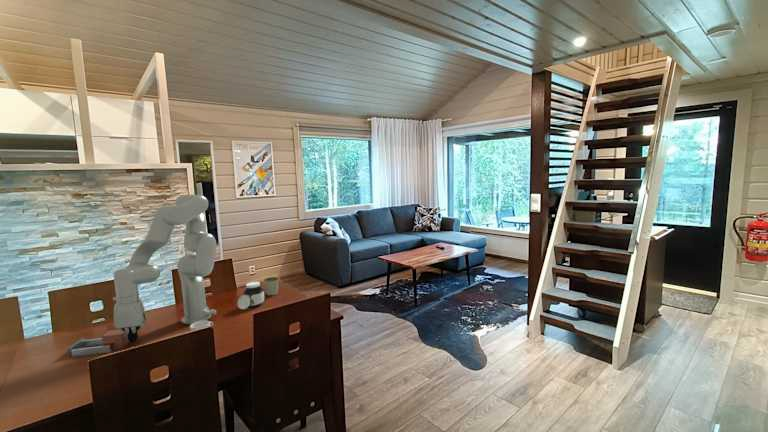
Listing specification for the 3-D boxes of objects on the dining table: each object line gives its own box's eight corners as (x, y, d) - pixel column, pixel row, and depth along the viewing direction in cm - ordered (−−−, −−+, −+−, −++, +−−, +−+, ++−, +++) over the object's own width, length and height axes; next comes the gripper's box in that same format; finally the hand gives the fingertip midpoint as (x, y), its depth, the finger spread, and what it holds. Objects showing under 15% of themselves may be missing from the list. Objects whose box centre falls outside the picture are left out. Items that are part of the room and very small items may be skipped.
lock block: (129, 342, 150) (127, 328, 150) (123, 348, 146) (121, 334, 145) (110, 344, 149) (108, 331, 148) (103, 350, 144) (101, 336, 143)
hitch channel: (121, 341, 151) (120, 333, 151) (109, 352, 142) (108, 343, 142) (83, 346, 148) (81, 338, 148) (68, 357, 139) (67, 348, 139)
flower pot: (260, 296, 202) (259, 281, 201) (268, 290, 212) (267, 276, 210) (275, 296, 201) (274, 282, 200) (283, 291, 210) (282, 277, 209)
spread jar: (266, 301, 194) (264, 280, 192) (259, 309, 182) (258, 287, 181) (243, 302, 193) (242, 281, 192) (236, 310, 182) (234, 288, 180)
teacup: (198, 341, 149) (197, 329, 148) (187, 338, 152) (185, 326, 152) (219, 331, 158) (218, 320, 157) (207, 329, 161) (206, 317, 161)
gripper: (102, 304, 141) (108, 348, 143) (144, 299, 144) (150, 343, 146) (111, 297, 148) (117, 339, 150) (152, 293, 151) (156, 335, 153)
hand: (133, 341), depth 148 cm, fingers closed
